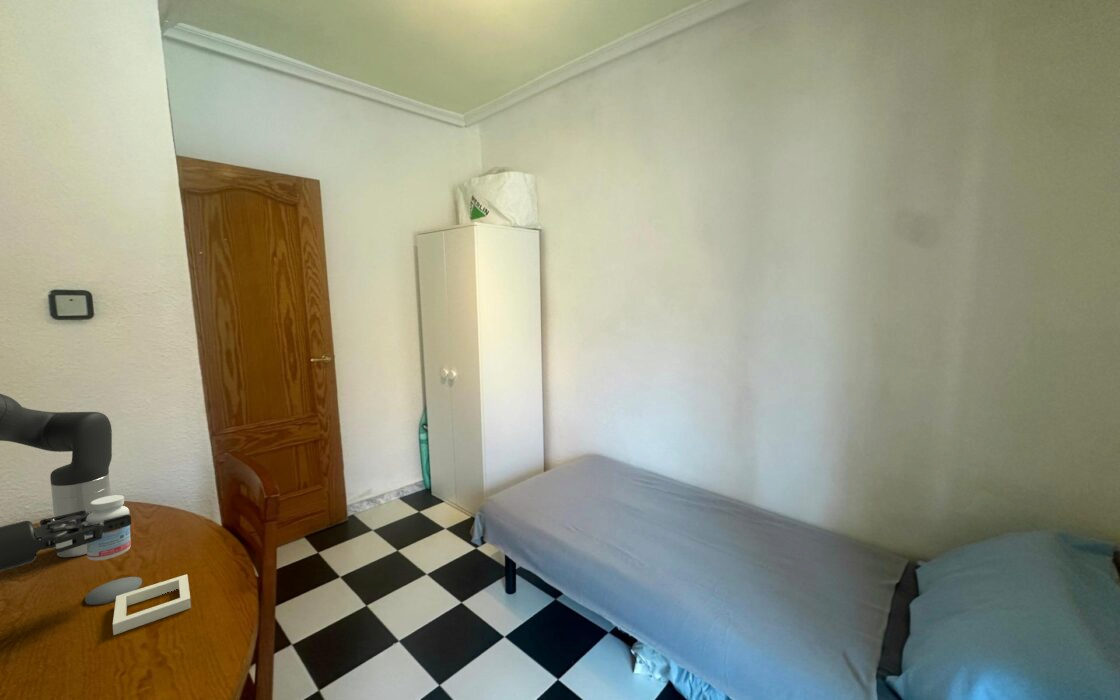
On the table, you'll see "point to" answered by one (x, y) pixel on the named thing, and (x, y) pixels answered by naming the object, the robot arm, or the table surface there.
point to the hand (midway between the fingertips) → (124, 515)
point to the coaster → (112, 590)
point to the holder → (154, 613)
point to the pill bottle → (112, 540)
